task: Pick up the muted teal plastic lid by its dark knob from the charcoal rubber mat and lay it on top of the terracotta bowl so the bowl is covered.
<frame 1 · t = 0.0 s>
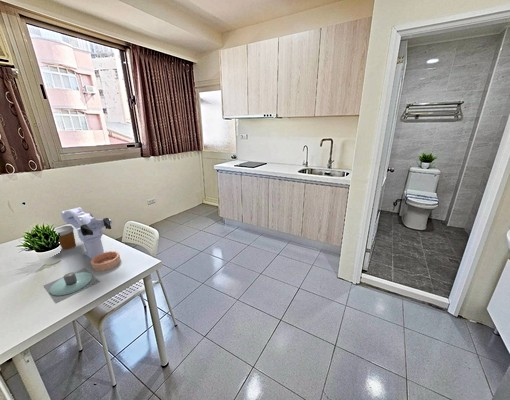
hand: (101, 229, 107), 21 cm above the table, tool horizontal, fingers open, 7 cm apart
lid: (72, 283, 101), resting on mat
mat: (72, 284, 101), on the table
bowl: (107, 264, 116), on the table
disposable coffee cup: (69, 247, 133), on the table, touching arm
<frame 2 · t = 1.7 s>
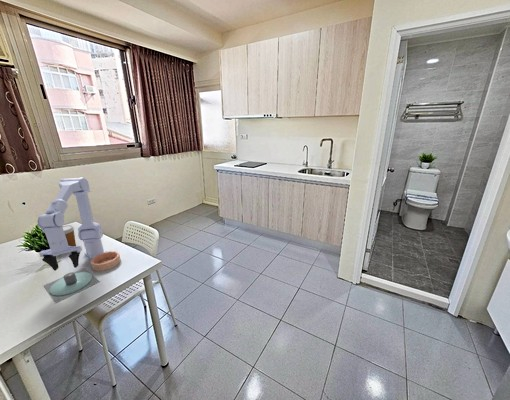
hand: (66, 267, 98), 9 cm above the table, tool pointing down, fingers open, 7 cm apart
disposable coffee cup: (69, 246, 133), on the table
everything else where it was.
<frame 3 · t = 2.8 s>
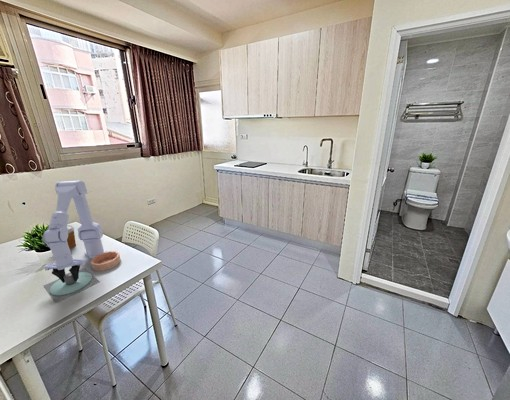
hand: (70, 280, 100), 2 cm above the table, tool pointing down, fingers closed on lid, 4 cm apart
lid: (71, 283, 101), resting on mat, touching gripper
everything else where it was.
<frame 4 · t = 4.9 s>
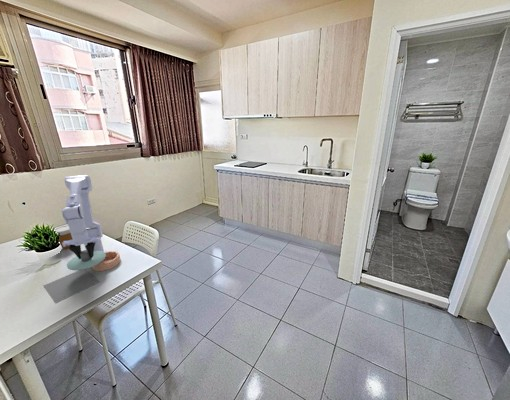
hand: (86, 257, 106), 9 cm above the table, tool pointing down, fingers closed on lid, 4 cm apart
lid: (87, 260, 106), point 7 cm above the table, touching gripper
everything else where it was.
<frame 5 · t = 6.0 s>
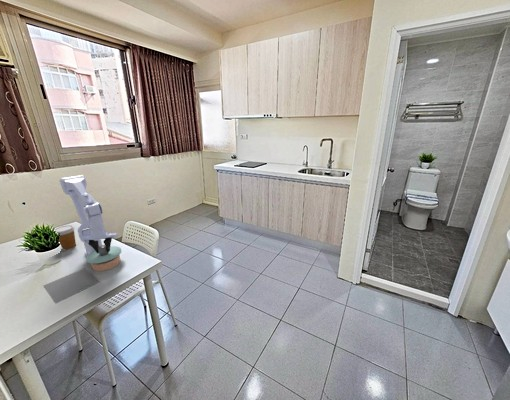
hand: (103, 251, 113), 7 cm above the table, tool pointing down, fingers closed on lid, 4 cm apart
lid: (104, 254, 114), point 6 cm above the table, touching gripper
everything else where it was.
when the fingers open (7 cm above the table, at t = 6.7 s): lid drops 2 cm, resting on bowl.
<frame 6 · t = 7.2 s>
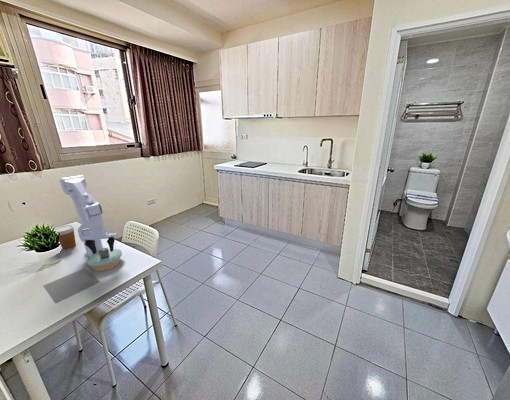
hand: (103, 251, 113), 7 cm above the table, tool pointing down, fingers open, 7 cm apart
lid: (105, 257, 114), point 4 cm above the table, touching bowl
everything else where it was.
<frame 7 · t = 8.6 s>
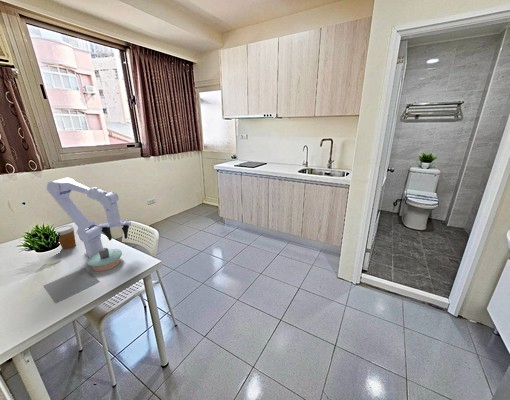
hand: (118, 238, 121), 10 cm above the table, tool pointing down, fingers open, 7 cm apart
nothing on the table moved.
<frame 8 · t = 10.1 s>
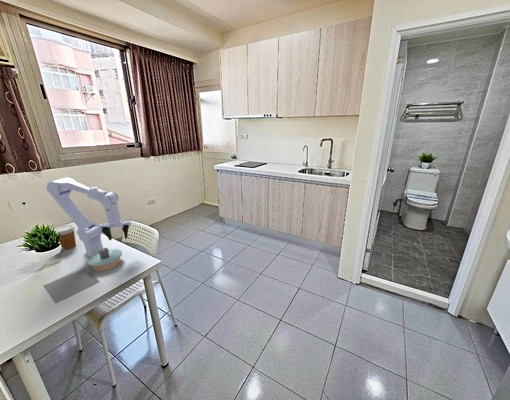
hand: (118, 238, 121), 10 cm above the table, tool pointing down, fingers open, 7 cm apart
nothing on the table moved.
at the end: lid 0.1 cm from the bowl (horizontally); lid point 4.0 cm above the table; lid tilted 0° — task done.
